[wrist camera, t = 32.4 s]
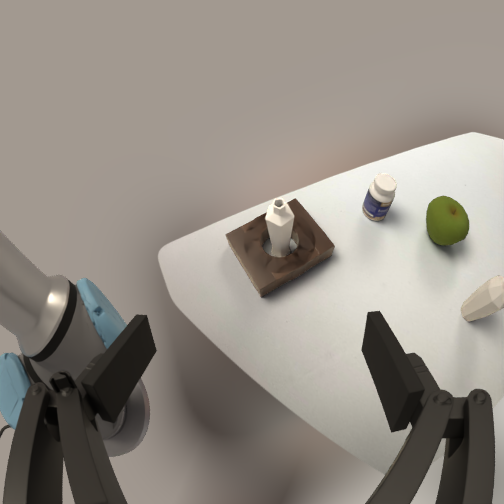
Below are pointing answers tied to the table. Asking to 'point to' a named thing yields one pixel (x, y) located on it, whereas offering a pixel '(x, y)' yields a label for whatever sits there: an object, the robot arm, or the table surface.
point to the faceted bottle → (484, 300)
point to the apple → (446, 221)
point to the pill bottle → (379, 197)
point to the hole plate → (279, 268)
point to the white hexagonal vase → (279, 227)
